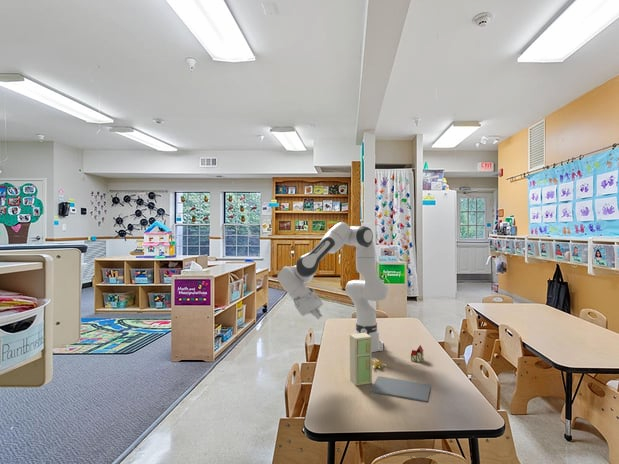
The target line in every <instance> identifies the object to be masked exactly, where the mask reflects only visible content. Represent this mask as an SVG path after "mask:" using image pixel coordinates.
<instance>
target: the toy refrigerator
mask: <svg viewBox="0 0 619 464" xmlns="http://www.w3.org/2000/svg"><path fill="white" fill-rule="evenodd" d="M372 353H373V352H372V346H371V336H370V335H368V334H367V333H356V334H354V333H350V334H349V374H350V375H349V377H350V381H351V382H352V383H353V384H354V386H363V385H370V384H372V382H373V375H372V374H373V366H372V359H373V358H372Z"/></svg>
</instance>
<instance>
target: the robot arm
mask: <svg viewBox="0 0 619 464" xmlns="http://www.w3.org/2000/svg"><path fill="white" fill-rule="evenodd" d="M373 237H374V235H373V231H372V229H371V228H370V227H369V226H364V225H362V226H361V225H352V226H351V225H349V224H347V222H343V221H340V222H337V223H336V224H335V225H334V226H332V227H331V228H329V230H327V231H326V232H325V234H324V235H323V236H322V238H321V240H320V241H319V243H318V244H317V245H315V247H314V248H312V250H310V251H309V252H307V253H305V254H303V255H301V256H299V258H298V259H297V261H296V265H292V266H291V265H290V266H288V265H287V266H286V265H284V267H282V268H281V269H280V270H279V272H278V274H277V276H276V277H277V278H276V279H277V281H278V283H279V284H280V285H281V287H282V288H283V289H284V291H286V292H287V293H288V295H289V297H290V298H291V300H293V303H294V307H295V309H296V310H297V311H298V313H299V314H300V315H301V316H302V317H305V316H307V315H309V314H311V315H312V316H313V317H315V319H317V320H320V319H321V318H322V317H323V314H322V313H321V311H320V308H321V307H322V306H324V303H323V301H322V299H321V298H320V297H319V296H318V294H317V293H315V290H314V289H313V288H311V287H308V286H306V284H308V283H309V282H311V281H312V280H313V278H314V276H315V273H316V271H317V269H318V268H319V263H320V262H321V260H322V259H324V258H325V257H326V255H327V254H331V255H332V254H336V253H337V252H338V251H339V250H340V249H341V248H342V247H343V246H351V247H355V270H356V272H357V273H358V274H360V275H361V276H362V277H363V279H364V280H362V279H353V280H349V281H348V282H347V283H346V285H345V290H344V291H345V293H346V295H347V296H348V297H349V298H350V299H351V301H352V304H353V305H354V307H355V312H356V323H355V331H354V332H353V334H356V333H367V334H368V335H370V336H371V346H372V353H375V352H381V351H384V341H383V340H381V339H380V332H378V322H377V311H376V309H375V307H373V306H372V305H371V304H370V302H369V301H371V302H372V301H373V302H380V301H381V302H382V301H383V302H384V301H385V300H386V299H387V297H388V296H389V288H388V286H387V285H386V284H385V283H384V282H383V281H382V279H381V278H380V276H379V275H378V272H377V265H376V250H375V248H376V247H375V244H374V238H373Z"/></svg>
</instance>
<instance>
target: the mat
mask: <svg viewBox="0 0 619 464" xmlns="http://www.w3.org/2000/svg"><path fill="white" fill-rule="evenodd" d="M431 387H432V384H430V383H423V382H418V381H413V380H412V381H410V380H406V379H400V378H399V379H397V378H392V377H385V376H380V375H378V376H377V377H376V379H375V381H374V383H373V384H372V386H371V388H370V390H369V392H370V393H375V394H379V395H385V396H390V397H396V398H401V399H408V400H412V401H413V400H414V401H418V402H424V403H428V401H429V395H430V392H431V391H430V390H431Z"/></svg>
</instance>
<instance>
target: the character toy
mask: <svg viewBox="0 0 619 464" xmlns="http://www.w3.org/2000/svg"><path fill="white" fill-rule="evenodd" d="M380 366H384V367H388V364H386V363H383V362H382V361H381V362H380V360H379V359H377V358H372V369H376V368H379V369H381V367H380Z"/></svg>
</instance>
